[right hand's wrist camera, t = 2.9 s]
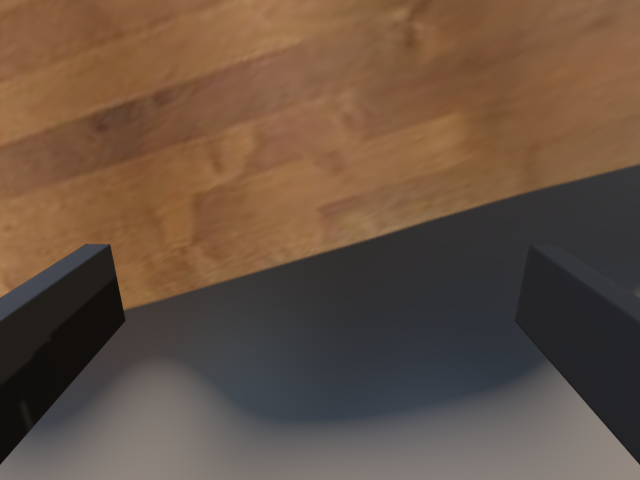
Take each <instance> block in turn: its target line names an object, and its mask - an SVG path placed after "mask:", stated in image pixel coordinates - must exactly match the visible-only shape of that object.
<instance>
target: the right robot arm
mask: <svg viewBox="0 0 640 480" xmlns="http://www.w3.org/2000/svg"><path fill="white" fill-rule="evenodd" d="M124 322H125V316H124V311H123V306H122V301H121V296H120V291H119V286H118V281H117V276H116V271H115V266H114V261H113V256H112V251H111V246H110V244H85V245H84V246H82V247H81V248H79V249H77V250H76V251H74V252H73V253H71V254H69V255H68V256H66V257H65V258H63V259H62V260H60V261H58V262H57V263H55V264H54V265H52V266H50V267H49V268H47V269H46V270H44V271H42V272H41V273H39V274H38V275H36V276H34V277H33V278H31V279H30V280H28V281H26V282H25V283H23V284H22V285H20V286H19V287H17V288H15V289H14V290H12V291H11V292H9V293H7V294H6V295H4V296H3V297H1V298H0V464H1V463H2V462H3V461H4V460H5V459H6V457H7V456H8V455H9V454H10V453H11V452H12V451H13V449H14V448H15V447H16V446H17V445H18V444H19V442H20V441H21V440H22V439H23V438H24V437H25V436H26V434H27V433H28V432H29V431H30V430H31V429H32V428H33V426H34V425H35V424H36V423H37V422H38V421H39V420H40V418H41V417H42V416H43V415H44V414H45V413H46V411H47V410H48V409H49V408H50V407H51V406H52V405H53V403H54V402H55V401H56V400H57V399H58V398H59V397H60V395H61V394H62V393H63V392H64V391H65V390H66V388H67V387H68V386H69V385H70V384H71V383H72V381H73V380H74V379H75V378H76V377H77V376H78V375H79V374H80V372H81V371H82V370H83V369H84V368H85V367H86V365H87V364H88V363H89V362H90V361H91V360H92V359H93V357H94V356H95V355H96V354H97V353H98V352H99V351H100V349H101V348H102V347H103V346H104V345H105V344H106V342H107V341H108V340H109V339H110V338H111V337H112V336H113V334H114V333H115V332H116V331H117V330H118V329H119V328H120V326H121V325H122V324H123V323H124ZM515 322H516V323H517V324H518V325H519V326H520V328H521V329H522V330H523V331H524V332H525V333H526V334H527V336H528V337H529V338H530V339H531V340H532V341H533V342H534V344H535V345H536V346H537V347H538V348H539V349H540V351H541V352H542V353H543V354H544V355H545V356H546V357H547V359H548V360H549V361H550V362H551V363H552V364H553V365H554V367H555V368H556V369H557V370H558V371H559V372H560V374H561V375H562V376H563V377H564V378H565V379H566V380H567V382H568V383H569V384H570V385H571V386H572V387H573V388H574V390H575V391H576V392H577V393H578V394H579V395H580V397H581V398H582V399H583V400H584V401H585V402H586V403H587V405H588V406H589V407H590V408H591V409H592V410H593V411H594V413H595V414H596V415H597V416H598V417H599V418H600V419H601V421H602V422H603V423H604V424H605V425H606V426H607V428H608V429H609V430H610V431H611V432H612V433H613V434H614V436H615V437H616V438H617V439H618V440H619V441H620V442H621V444H622V445H623V446H624V447H625V448H626V449H627V451H628V452H629V453H630V454H631V455H632V456H633V457H634V459H635V460H636V461H637V462H638V463H639V464H640V298H639V297H637V296H636V295H634V294H633V293H631V292H629V291H628V290H626V289H625V288H623V287H621V286H620V285H618V284H617V283H615V282H613V281H612V280H610V279H609V278H607V277H606V276H604V275H602V274H601V273H599V272H598V271H596V270H594V269H593V268H591V267H590V266H588V265H586V264H585V263H583V262H582V261H580V260H578V259H577V258H575V257H574V256H572V255H571V254H569V253H567V252H566V251H564V250H563V249H561V248H559V247H558V246H556V245H555V244H530V246H529V251H528V256H527V261H526V266H525V271H524V276H523V281H522V286H521V291H520V296H519V301H518V306H517V311H516V316H515Z"/></svg>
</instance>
